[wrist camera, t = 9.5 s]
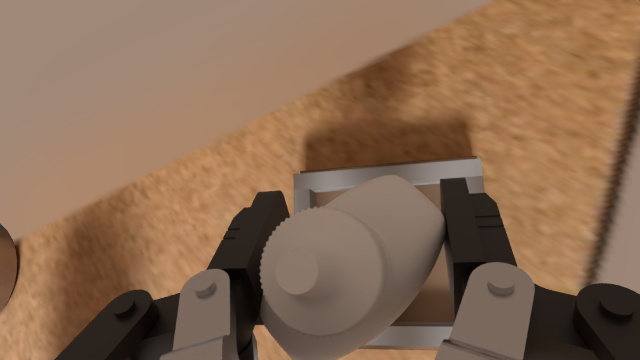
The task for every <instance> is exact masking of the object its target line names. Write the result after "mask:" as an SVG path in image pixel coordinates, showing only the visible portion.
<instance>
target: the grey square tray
mask: <svg viewBox="0 0 640 360" xmlns="http://www.w3.org/2000/svg"><path fill="white" fill-rule="evenodd" d="M384 175H397V176H399V177H402V178H404V179H406V180H407V181H408V182H410V183H411V184H412V185H413V186H415V187H416V188H417V189H418V190H419V191H420V192H421V193H423V194H424V195H425V196H426V197H427V198H428V199H429V200H430V201H431V202H432V203H433V204H434V205H435V206H436V207H437V208H438V209H439V210H440V211H441V200H440V179H447V178H461V177H465V179H466V182H467V186H468V190H469V194H471V193H485V192H484V183H483V174H482V165H481V158H479V159H477V156H472V157H460V158H449V159H437V160H425V161H414V162H402V163H391V164H379V165H367V166H356V167H344V168H332V169H321V170H309V171H300V174H294V215H295V214H296V212H297V211H298V212H301V211H302V209H304V210H307V209H308V208H312V209H313V208H314V207H315V206H316V207H318V208H320V207H321V206H323V207H324V206H325V205H327V204H328V203H329V202H331V201H332V200H334V199H335V198H337V197H338V196H340V195H341V194H343V193H345V192H347V191H348V190H350V189H352V188H354V187H356V186H358V185H360V184H362V183H365V182H367V181H370V180H372V179H375V178H378V177H381V176H384ZM453 325H454V317H453V309H452V302H451V295H450V287H449V280H448V272H447V265H446V258H445V250H444V243H443V246H442V249H441V252H440V254H439V257H438V259H437V261H436V263H435V266H434V268H433V269H432V271H431V273H430V275H429V277H428V279H427V280H426V282H425V284H424V285H423V287H422V288H421V290H420V291H419V293H418V294H417V296H416V297H415V298H414V300H413V301H412V302H411V303H410V305H409V306H408V307H407V308H406V310H405V311H404V312H403V313H402V314H401V315H400V316H399V317H398V318H397V319H396V320H395V321H394V322H393V323H392V324H391V325H390V326H389V327H388V328H386V329H385V330H384V331H383V332H382V333H380V334H379V335H378V336H377V337H375V338H374V339H372V340H371V341H370V342H368V343H367V344H365V345H363V346H362V347H360V348H358V349H395V350H438V349H439V347H440V345H441V343H442V341H443V340H444V339H447V340H448V339H449V337H450V334H451V331H452V328H453Z"/></svg>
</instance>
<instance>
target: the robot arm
mask: <svg viewBox="0 0 640 360" xmlns="http://www.w3.org/2000/svg"><path fill="white" fill-rule="evenodd" d="M440 200H441V212H442V214H443V216H444V217H445V219H446V230H447V232H446V236H445V240H444V250H445V258H446V265H447V272H448V280H449V287H450V295H451V302H452V309H453V317H454V325H453V328H452V331H451V334H450V337H449V339H448V340H447V339H444V340H443V341H442V343H441V345H440V347H439V349H438V352H437V355H436V358H435V360H640V294H638V293H636V292H634V291H632V290H630V289H628V288H625V287H622V286H619V285H614V284H607V283H599V284H592V285H589V286H587V287H584V288H583V289H582V290H581V291H580V292H579V293H578V295H577V296H574V295H569V294H565V293H561V292H556V291H552V290H548V289H545V288H543V287H540V286H538V285H536V284H534V283H533V281H532V279H531V278H530V276H529V275H528V274H527V273H526V272H524V271H523V270H522V269H520V268H518V267H517V264H516V261H515V258H514V255H513V252H512V249H511V246H510V243H509V240H508V237H507V234H506V231H505V228H504V225H503V222H502V219H501V217H500V213H499V210H498V206H497V203H496V202H495V201H494V200H493V199H492V198H490V197H489V196H488V195H487V194H486V193H471V194H469V190H468V186H467V182H466V179H465V177H461V178H447V179H440ZM286 218H290V216H289V212H288V209H287V205H286V202H285V198H284V195H283V193H282V192H281V191H267V192H258V193H257V195H256V197H255V199H254V201H253V203H252V205H251V207H248V208H244V209H243V210H242V211H240V212H239V213H238V214H237V215H236V216H235V217H234V218H233V220H232V222H231V224H230V226H229V228H228V231H227V232H226V233H225V235H224V237H223V240H222V241H221V243H220V245H219V247H218V249H217V251H216V253H215V254H214V256H213V258H212V260H211V262H210V264H209V266H208V268H207V270H205V271H202V272H200V273H198V274H196V275H194V276H193V277H192V278H190V279H189V280H188V281H187V282H186V283H185V285H184V286H183V288H182V290H181V293H178V294H175V295H171V296H168V297H164V298H161V299H157V300H153V299H152V297H151V295H150V294H149V293H148V292H147V291H145V290H132V291H129V292H126V293H124V294H122V295H120V296H118V297H117V298H115V299H114V300H113V301H111V302H110V303H109V304H108V305H107V306H106V307H105V308H104V309H103V310H102V311H101V312H100V313H99V314H98V315H97V316H96V317H95V318H94V319H93V321H92V322H91V323H90V324H89V325H88V326H87V327H86V328H85V329H84V330H83V331H82V332H81V333H80V334H79V335H78V336H77V337H76V338H75V339H74V340H73V341H72V342H71V343H70V344H69V345H68V346H67V347H66V348H65V349H64V350H63V351H62V352H61V353H60V354H59V355H58V357H57V358H56V359H55V360H258V352H257V341H256V338H255V336H254V333H253V329H254V326H255V325H264V323H263V321H262V318H261V316H260V309H261V301H262V297H263V289H262V288H261V286H262V283H261V282H260V279H261V276H260V275H259V274H260V272H261V270H260V268H259V267H260V266H261V262H260V260H261V259H262V255H261V254H263V253H264V250H263V248H264V247H266V242H267V241H269V236H272V231H276V226H280V224H281V222H284V221H285V219H286ZM16 274H17V256H16V249H15V246H14V243H13V240H12V238H11V236H10V235H9V233H8V231H7V230H6V229H5V228H4V227H3V226H2V225H1V224H0V312H1V311H2V310H3V309H4V307H5V305H6V303H7V302H8V300H9V298H10V296H11V293H12V290H13V287H14V284H15V279H16Z"/></svg>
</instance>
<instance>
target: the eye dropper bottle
mask: <svg viewBox="0 0 640 360" xmlns="http://www.w3.org/2000/svg"><path fill="white" fill-rule="evenodd" d="M446 232H447V230H446V219H445V217H444V216H443V214H442V212H441V211H440V210H439V209H438V208H437V207H436V206H435V205H434V204H433V203H432V202H431V201H430V200H429V199H428V198H427V197H426V196H425V195H424V194H423V193H421V192H420V191H419V190H418V189H417V188H416V187H415V186H413V185H412V184H411V183H410V182H408V181H407V180H406V179H404V178H402V177H399V176H397V175H384V176H381V177H378V178H375V179H372V180H370V181H367V182H365V183H362V184H360V185H358V186H356V187H354V188H352V189H350V190H348V191H347V192H345V193H343V194H341V195H340V196H338V197H337V198H335V199H334V200H332V201H331V202H329V203H328V204H327V205H325V206H324V207H323V206H321V207H320V208H318V207H316V206H315V207H314V208H313V209H312V208H308V209H307V210H304V209H302V211H301V212H298V211H297V212H296V214H295V215H292V214H291V216H290V218H286V219H285V221H284V222H281V224H280V226H276V231H272V236H269V241H267V242H266V247H264V248H263V250H264V253H263V254H261V255H262V259H261V260H260V262H261V266H260V267H259V268H260V270H261V272H260V274H259V275H260V276H261V279H260V282H261V283H262V286H261V288H262V289H263V297H262V301H261V309H260V316H261V318H262V321H263V323H264V325H265V327H266V328H267V330H268V331H269V332H270V334H271V335H272V336H273V338H274V339H275V340H276V341H277V343H278V344H279V345H280V346H281V347H282V349H283V350H284V351H285V352H286V353H287V354H288V355H289V356H290V357H291V358H292V359H293V360H336V359H338V358H340V357H343V356H345V355H347V354H349V353H351V352H353V351H355V350H357V349H358V348H360V347H362V346H363V345H365V344H367V343H368V342H370V341H371V340H372V339H374V338H375V337H377V336H378V335H379V334H380V333H382V332H383V331H384V330H385V329H386V328H388V327H389V326H390V325H391V324H392V323H393V322H394V321H395V320H396V319H397V318H398V317H399V316H400V315H401V314H402V313H403V312H404V311H405V310H406V308H407V307H408V306H409V305H410V303H411V302H412V301H413V300H414V298H415V297H416V296H417V294H418V293H419V291H420V290H421V288H422V287H423V285H424V284H425V282H426V280H427V279H428V277H429V275H430V273H431V271H432V269H433V268H434V266H435V263H436V261H437V259H438V257H439V254H440V252H441V249H442V246H443V243H444V240H445V236H446Z"/></svg>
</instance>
